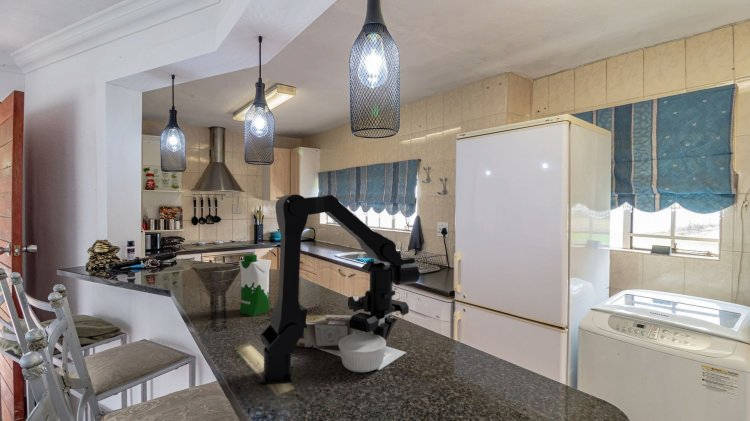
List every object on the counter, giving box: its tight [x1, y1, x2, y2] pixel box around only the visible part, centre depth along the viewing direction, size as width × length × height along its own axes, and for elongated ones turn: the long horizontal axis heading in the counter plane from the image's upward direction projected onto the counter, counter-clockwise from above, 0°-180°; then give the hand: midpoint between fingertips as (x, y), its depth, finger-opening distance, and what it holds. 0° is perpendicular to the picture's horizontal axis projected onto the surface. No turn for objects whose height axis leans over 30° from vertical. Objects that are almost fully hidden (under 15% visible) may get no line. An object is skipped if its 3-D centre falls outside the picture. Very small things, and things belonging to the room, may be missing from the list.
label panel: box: [316, 345, 407, 371], centre depth 92 cm, size 22×12×1 cm, turn 54°
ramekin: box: [339, 332, 387, 373], centre depth 84 cm, size 11×11×5 cm
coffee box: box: [296, 313, 358, 349], centre depth 96 cm, size 9×6×16 cm
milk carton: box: [238, 253, 272, 317], centre depth 123 cm, size 9×9×20 cm
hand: (380, 347), depth 90 cm, fingers closed
